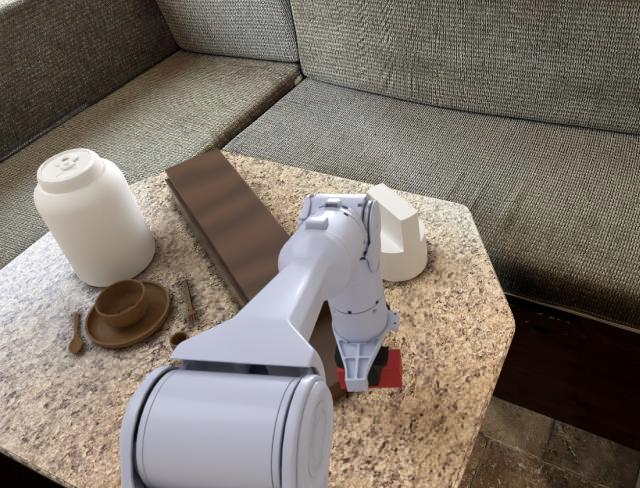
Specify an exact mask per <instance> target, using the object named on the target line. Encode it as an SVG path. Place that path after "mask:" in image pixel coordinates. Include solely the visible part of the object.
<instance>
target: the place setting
mask: <svg viewBox="0 0 640 488" xmlns="http://www.w3.org/2000/svg"><path fill="white" fill-rule="evenodd" d="M183 285H184V291H185V296H186V301H187V302H186V303H187V307H188V312H187V323H188V325H190V323H191V324H193V323H196V322H198V313H197V311H196V310H194V309H193V304H192V299H191V294H190V289H189V284H188V282H187V280H184V281H183ZM170 309H171V296H170V294H169V292H168V290H167V288H166V287H165V286H164V285H162V284H161V283H159V282H156V281H153V280H146V279H145V280H138V279H133V278H131V279H125V280H121V281H117V282H115V283H113V284H111V285H109V286H107V287H104V289H102V290H101V291H100V293H99V294H98V295H97V297H96V299H95V301H94V304H93V305H92V306H91V308H90V309H89V311H88V313H87V315H86V317H85V321H84V330H85V333H86V335H87V337H88V338H89V339H90V341H91V342H93V343H94V344H96V345H98V346H100V347H103V348H106V349H120V348H126V347H130V346H133V345H135V344H138V343H140V342H142V341H145V340H146V339H147V338H149V337H150V336H151V335H153V334H154V333H155V332H157V330H159V328H160V327H161V326H162V325H163V324H164V322H165V321H166V319H167V317H168V315H169V313H170ZM79 321H80V317H79V313H78V312H76V313H75V314H74V319H73V338H72V339H71V341H70V342H69V344H68V347H67V348H68V351H69V352H70V353H71V354H72V355H75V354H78V353H79V352H80V351H81V349H82V347H83V344H84V343H83V342H84V341H83V339H82V337H80V336H79ZM189 338H191V337H190V335H189V334H188V332H187V331H184V330H180V331H176V332H175V333H173V334H172V335H171V336H170V337H169V339H168V342H169V345H170V347H171V350H172V352H173V351H174V350H175V349H176V347H177V346H178V345H179V344H180V343H181V342H183V341H185V340H187V339H189Z"/></svg>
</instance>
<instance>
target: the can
mask: <svg viewBox="0 0 640 488" xmlns="http://www.w3.org/2000/svg"><path fill="white" fill-rule="evenodd" d="M36 181H37V184H36V186H35V187H34V190H33V196H32V198H33V202H34V206H35V208H36V211H37V212H38V214H39V215H40V217H41V219H42V220H43V222H44V224H45V225H46V227H47V229H48V230H49V232H50V233H51V236H52V238H53V239H54V240H55V241H56V244H57V245H58V247H59V248H60V251H62V253H63V255H64V256H65V258H66V260H67V261H68V263H69V264H70V266H71V269H73V271H74V272H75V274H76V276H77V277H78V279H79V280H80V281H82V282H83V283H85V284H86V285H88V286H92V287H97V288H106V287H108V286H109V285H111V284H113V283H115V282H117V281H121V280H125V279H133V278H135V277H137V276H138V275H139V274H140V273H142V272H143V271H144V270H145V269H147V267H148V266H149V265H150V264H151V262H152V261H153V259H154V256H155V253H156V241H155V238H154V236H153V234H152V232H151V230H150V228H149V226H148V224H147V221H146V220H145V218H144V216H143V213H142V211H141V209H140V207H139V205H138V202H137V200H136V198H135V196H134V194H133V192H132V189H131V187H130V186H129V183H128V181H127V179H126V177H125V174H124V173H123V172H122V171H121V169H120V168H119V167H118V166H117V165H116V163H115V162H113V161H111V160H109V159H107V158H103V157H100V156H99V155H98V153H96V152H95V151H93V150H91V149H90V148H84V147H83V148H82V147H81V148H71V149H67V150H64V151H62V152H59V153H57V154H54V155H53V156H51V157H49V158H47V159H46V160H45V161H44V162H43V163H41V164H40V165H39V167H38V169H37V171H36Z"/></svg>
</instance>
